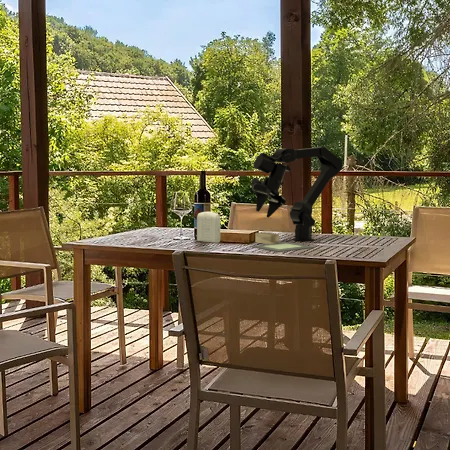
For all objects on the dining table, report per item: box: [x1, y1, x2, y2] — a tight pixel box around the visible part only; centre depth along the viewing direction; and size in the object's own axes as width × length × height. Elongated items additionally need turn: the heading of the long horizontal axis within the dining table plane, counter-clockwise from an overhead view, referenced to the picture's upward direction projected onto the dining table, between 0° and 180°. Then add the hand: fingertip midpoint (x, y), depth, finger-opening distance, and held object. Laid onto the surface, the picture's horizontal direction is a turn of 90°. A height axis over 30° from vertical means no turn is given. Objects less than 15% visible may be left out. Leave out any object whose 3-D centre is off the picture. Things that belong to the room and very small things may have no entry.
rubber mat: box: [251, 241, 315, 253], centre depth 269 cm, size 18×16×1 cm
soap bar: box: [196, 211, 221, 244], centre depth 285 cm, size 10×4×12 cm, turn 56°
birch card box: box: [254, 231, 280, 245], centre depth 282 cm, size 5×9×4 cm, turn 36°
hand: (262, 214), depth 279 cm, fingers open, 9 cm apart
